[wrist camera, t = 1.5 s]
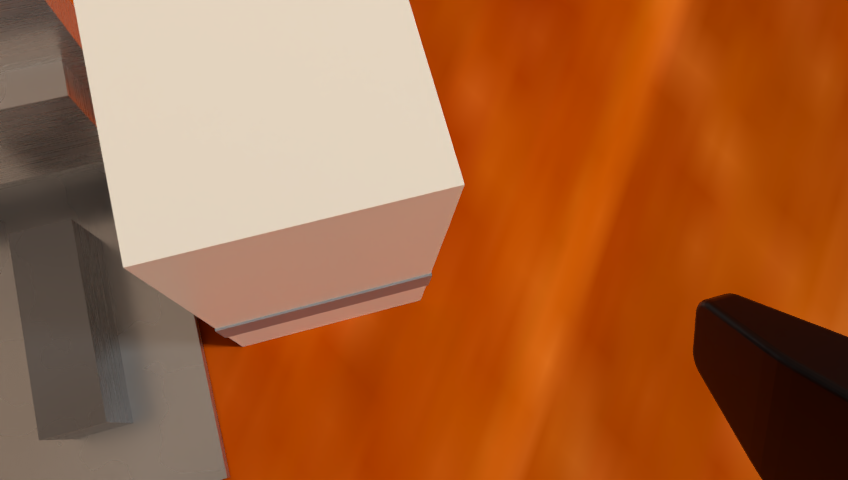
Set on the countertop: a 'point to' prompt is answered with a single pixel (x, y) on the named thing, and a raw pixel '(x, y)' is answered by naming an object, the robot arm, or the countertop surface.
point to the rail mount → (82, 291)
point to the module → (271, 155)
